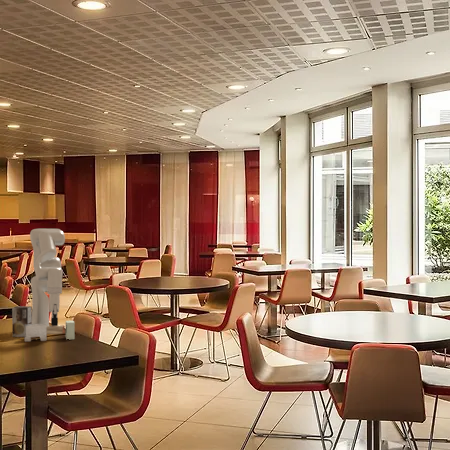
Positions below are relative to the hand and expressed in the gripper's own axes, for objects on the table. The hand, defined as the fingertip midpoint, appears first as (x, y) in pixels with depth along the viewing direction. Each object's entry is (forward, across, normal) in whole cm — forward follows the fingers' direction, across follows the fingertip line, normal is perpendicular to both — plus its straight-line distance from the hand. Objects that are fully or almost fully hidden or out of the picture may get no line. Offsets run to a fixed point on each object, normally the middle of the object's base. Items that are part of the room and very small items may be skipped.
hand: (54, 324), depth 357 cm
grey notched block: (+8, 0, -10) cm, 12 cm away
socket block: (+8, 0, +8) cm, 11 cm away
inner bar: (+5, 0, -3) cm, 6 cm away
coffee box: (+8, -16, -16) cm, 24 cm away
